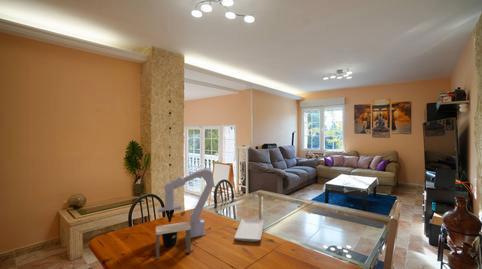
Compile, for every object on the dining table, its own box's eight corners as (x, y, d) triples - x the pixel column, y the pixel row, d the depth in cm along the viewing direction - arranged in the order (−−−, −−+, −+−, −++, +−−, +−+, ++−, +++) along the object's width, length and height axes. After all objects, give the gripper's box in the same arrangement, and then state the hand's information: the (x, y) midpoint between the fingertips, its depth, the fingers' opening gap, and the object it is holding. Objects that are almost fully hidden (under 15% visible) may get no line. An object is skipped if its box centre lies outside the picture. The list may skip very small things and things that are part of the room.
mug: (172, 249, 130) (172, 232, 130) (158, 247, 132) (158, 230, 132) (183, 240, 142) (183, 224, 141) (170, 238, 144) (170, 222, 144)
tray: (233, 242, 139) (233, 237, 139) (241, 222, 170) (241, 218, 170) (261, 245, 136) (261, 239, 136) (264, 224, 167) (264, 219, 167)
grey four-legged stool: (188, 246, 134) (188, 221, 134) (190, 252, 127) (190, 226, 127) (155, 252, 127) (155, 226, 127) (156, 259, 120) (156, 232, 120)
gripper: (180, 197, 153) (180, 217, 153) (157, 200, 148) (157, 221, 148) (181, 200, 147) (181, 221, 147) (157, 203, 141) (157, 225, 141)
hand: (169, 221), depth 147 cm, fingers closed
